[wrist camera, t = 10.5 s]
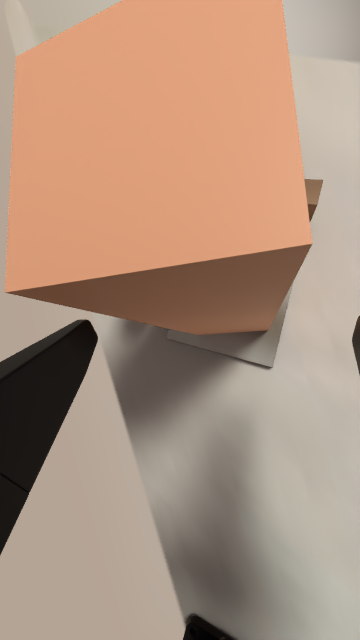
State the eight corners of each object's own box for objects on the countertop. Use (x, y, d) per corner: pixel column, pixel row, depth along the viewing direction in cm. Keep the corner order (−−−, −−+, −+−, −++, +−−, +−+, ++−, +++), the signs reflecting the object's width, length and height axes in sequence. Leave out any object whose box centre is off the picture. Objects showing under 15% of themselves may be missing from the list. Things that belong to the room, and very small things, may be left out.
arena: (272, 367, 15) (276, 373, 11) (140, 330, 18) (108, 325, 14) (307, 222, 15) (323, 180, 11) (171, 210, 18) (148, 173, 14)
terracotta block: (268, 330, 15) (311, 243, 3) (197, 335, 16) (5, 292, 4) (261, 260, 15) (272, -79, 3) (194, 270, 17) (16, 56, 4)
